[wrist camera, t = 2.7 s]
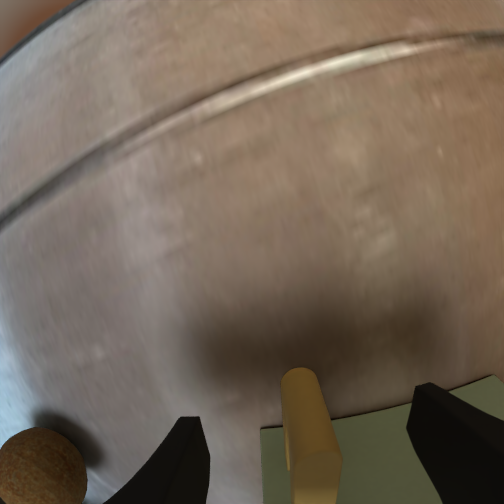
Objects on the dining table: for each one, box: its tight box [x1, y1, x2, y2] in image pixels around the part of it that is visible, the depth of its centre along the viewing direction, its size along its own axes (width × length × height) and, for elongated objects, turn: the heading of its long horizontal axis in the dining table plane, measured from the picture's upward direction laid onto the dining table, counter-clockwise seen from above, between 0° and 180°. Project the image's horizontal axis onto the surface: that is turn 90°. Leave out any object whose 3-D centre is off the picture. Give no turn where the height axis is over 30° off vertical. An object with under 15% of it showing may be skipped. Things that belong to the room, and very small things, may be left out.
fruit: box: [0, 427, 88, 504], centre depth 13 cm, size 6×6×8 cm
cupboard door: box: [260, 367, 504, 504], centre depth 11 cm, size 6×16×9 cm, turn 96°
